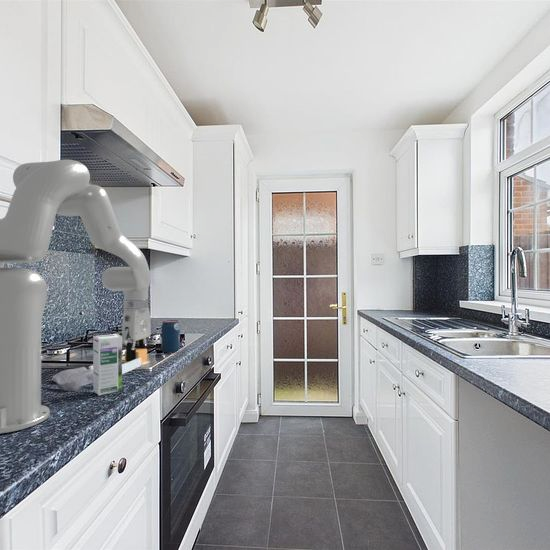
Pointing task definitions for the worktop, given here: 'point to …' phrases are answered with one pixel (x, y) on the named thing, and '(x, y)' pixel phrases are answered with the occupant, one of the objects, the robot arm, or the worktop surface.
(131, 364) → the channel walls
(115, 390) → the syrup box
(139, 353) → the orange block
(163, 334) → the soda can
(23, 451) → the worktop surface
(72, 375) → the stone block
